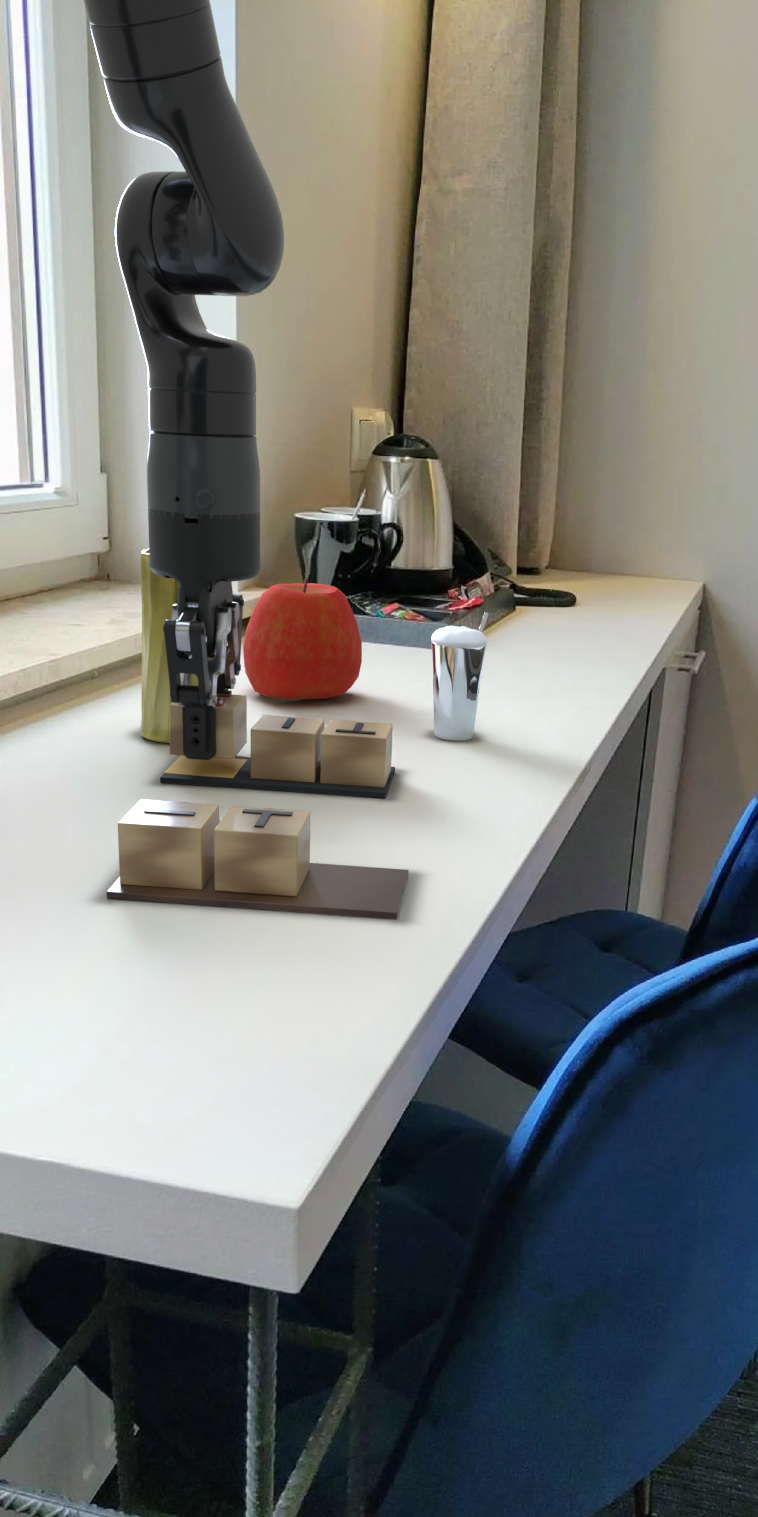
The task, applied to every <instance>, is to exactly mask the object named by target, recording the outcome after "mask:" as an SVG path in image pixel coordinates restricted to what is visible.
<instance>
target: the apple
mask: <svg viewBox="0 0 758 1517" xmlns="http://www.w3.org/2000/svg"><path fill="white" fill-rule="evenodd" d="M303 580H304V581H303V583H290V582H289V583H288V582H287V583H276V584H273V585H271V586H270V587H269V588H268V589H266V590H264V591H263V593H261V595H260V597H259V599H257V602H256V604H255V606H254V607H253V610H252V613H251V615H250V618H249V621H248V624H247V626H246V629H245V635H244V640H243V643H242V644H243V645H242V652H243V664H244V665H243V666H244V673H245V675H246V677H247V679H248V682H249V683H250V685H251V687H252V689H253V691H254V692H256V693H258V694H260V695H261V696H264V697H267V698H270V699H275V700H276V699H277V700H278V699H279V700H292V701H293V700H323V699H331V698H334V697H340V696H343V695H345V694H346V693H347V692H348V691H349V690H350V689H351V688H352V687H353V686H354V684H355V683H356V682H357V680H358V679H359V677H360V672H361V667H362V663H363V642H362V639H361V634H360V630H359V625H358V620H357V618H356V616H355V614H354V611H353V609H352V607H351V605H350V602H349V600H348V598H347V596H346V594H345V593H344V592H342V590H340V589H339V588H338V587H336V586H334V585H331V584H330V585H329V584H323V583H314V582H309V579H308V578H307V577H305V578H304V579H303ZM308 582H309V583H308Z"/></svg>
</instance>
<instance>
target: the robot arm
mask: <svg viewBox="0 0 758 1517" xmlns="http://www.w3.org/2000/svg"><path fill="white" fill-rule="evenodd" d="M83 4H84V8H85V12H86V16H87V20H88V24H89V28H90V32H91V36H92V40H93V44H94V48H95V52H96V56H97V60H98V63H99V68H100V72H101V75H102V76H103V77H102V79H103V82H104V83H103V84H104V86H105V91H106V94H107V97H108V101H109V105H110V107H111V110H112V113H113V115H114V118H115V120H116V121H117V123H118V124H119V125H120V127H122V128H123V129H124V130H126V131H128V132H129V133H132V134H134V135H136V136H138V137H142V138H146V139H149V140H152V141H156V142H158V143H160V144H162V145H164V146H166V147H167V148H168V149H170V150H171V151H172V152H173V153H174V154H175V157H177V159H178V160H179V162H180V164H181V166H182V167H183V169H184V171H150V172H146V173H142V174H140V175H139V176H136V177H135V178H134V179H132V181H130V183H129V184H128V185H127V187H126V188H125V190H124V192H123V194H122V195H121V198H120V201H119V204H118V207H117V210H116V217H115V222H114V223H115V225H114V226H115V227H114V237H115V240H114V241H115V247H116V254H117V258H118V262H119V263H118V264H119V267H120V271H121V274H122V278H123V281H124V285H125V288H126V291H127V295H128V299H129V302H130V306H131V309H132V313H133V317H134V321H135V324H136V328H137V333H138V335H139V340H140V343H141V347H142V351H143V354H144V358H145V362H146V366H147V387H148V389H147V395H148V398H147V399H148V400H147V401H148V422H149V423H148V428H149V437H148V438H149V439H148V450H147V458H146V487H147V488H146V489H147V490H146V492H147V521H148V524H147V525H148V549H149V559H150V568H151V570H152V572H153V573H155V574H156V575H158V576H161V577H164V578H174V579H175V580H176V581H178V583H179V587H180V588H179V590H178V602H177V604H173V606H172V615H171V620H165V624H164V626H163V632H164V636H165V645H166V655H167V665H168V674H169V684H170V697H171V701H172V702H173V703H178V704H179V706H182V722H183V753H184V755H185V757H187V758H189V759H200V760H210V759H212V758H213V757H214V756H215V754H216V707H215V705H216V703H217V696H216V694H233V692H232V690H234V689H235V685H236V684H237V678H236V676H239V675H240V672H241V670H242V665H241V652H242V632H243V615H244V614H243V613H244V612H243V611H244V606H245V599H244V596H243V594H241V593H234V592H233V584H232V583H233V582H241V581H242V582H243V581H247V580H251V579H254V578H256V577H257V576H258V575H259V573H260V571H261V470H260V469H261V468H260V460H259V459H260V458H259V454H258V444H257V436H256V435H257V395H256V393H257V370H256V361H255V358H254V354H253V352H252V351H251V349H250V348H249V347H248V346H247V345H245V344H244V343H242V342H240V341H238V340H235V339H233V338H230V337H227V336H223V335H219V334H216V333H214V332H212V331H210V330H209V329H208V328H207V326H206V323H205V322H204V320H203V318H202V315H201V312H200V310H199V307H198V303H197V299H196V296H214V297H215V296H217V297H218V296H219V297H250V296H256V295H257V294H260V293H262V292H264V291H265V290H267V288H269V287H270V286H271V284H272V283H273V282H274V281H275V279H276V277H277V276H278V273H279V271H280V268H281V265H282V261H283V256H284V251H285V250H284V249H285V231H284V222H283V217H282V211H281V208H280V204H279V201H278V198H277V195H276V193H275V190H274V188H273V185H272V182H271V181H270V178H269V176H268V174H267V171H266V170H265V167H264V165H263V163H262V161H261V158H260V156H259V154H258V152H257V150H256V148H255V145H254V143H253V140H252V138H251V136H250V133H249V132H248V129H247V127H246V125H245V122H244V120H243V117H242V115H241V113H240V111H239V108H238V106H237V104H236V102H235V99H234V96H233V95H232V92H231V90H230V87H229V85H228V81H227V79H226V75H225V70H224V65H223V64H224V63H223V59H222V56H221V50H220V45H219V40H218V36H217V31H216V26H215V20H214V15H213V9H212V6H211V0H83ZM191 674H195V675H196V676H197V678H198V686H192V685H189V679H190V675H191Z"/></svg>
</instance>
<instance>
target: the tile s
mask: <svg viewBox="0 0 758 1517" xmlns="http://www.w3.org/2000/svg"><path fill="white" fill-rule="evenodd" d="M216 696H217V703H216V705H215V707H216V754H215V756H214V757H213V758H227V759H234V758H235V757H236V756H238V754H239V753H240V752H241V750H242V749H244V747H245V746H246V744H247V743H248V742H247V741H248V725H247V724H248V715H247V714H248V712H247V710H248V709H247V708H248V707H247V706H248V705H247V703H248V700H247V699H248V698H247V697H248V696H247V695H246V694H234V693H232V694H216ZM169 733H170V743H169V755H171V756H180V755H182V756H185V755H184V753H183V722H182V706H179V704H178V703H173V702H172V703H171V704H170V705H169Z"/></svg>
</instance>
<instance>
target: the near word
mask: <svg viewBox="0 0 758 1517" xmlns="http://www.w3.org/2000/svg"><path fill="white" fill-rule="evenodd" d="M311 815H312V814H311V811H310V810H301V809H300V810H299V809H286V808H271V807H257V806H246V805H245V806H243V805H231V806H230V808H228V810H227V811H226V813H225V815H224V816H223V817H222V818H221V819H220V804H217V803H202V802H191V801H189V802H188V801H174V800H161V799H145V798H141V799H139V800H138V801H137V802H136V803H135V804H134V805H133V807H131V809H129V811H127V813H126V814H125V815H124V816H123V817H122V818H121V819H119V821H118V822H117V841H118V844H117V845H118V869H119V871H118V872H119V876H118V877H117V879H115V881H114V882H113V884H111V886H110V887H109V888H108V889H107V890H106V899H113V900H114V899H115V900H116V899H117V900H127V901H143V902H158V903H171V904H182V905H183V904H185V905H197V906H212V907H226V908H238V909H239V908H241V909H253V910H255V909H256V910H268V911H278V912H279V911H280V912H281V911H282V912H296V913H306V914H307V913H310V914H321V915H322V914H324V915H337V916H349V917H351V916H352V917H365V918H378V919H389V920H390V919H392V920H397V919H398V916H399V913H400V909H401V905H402V901H403V897H404V893H405V890H406V886H407V882H408V878H409V872H410V871H409V869H404V868H403V869H402V868H389V867H373V866H360V865H348V864H345V865H344V864H333V863H332V864H331V863H317V862H310V861H311V818H312V817H311Z"/></svg>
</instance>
